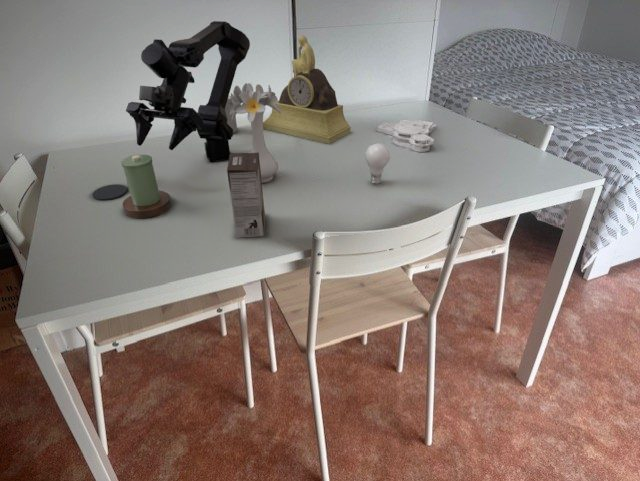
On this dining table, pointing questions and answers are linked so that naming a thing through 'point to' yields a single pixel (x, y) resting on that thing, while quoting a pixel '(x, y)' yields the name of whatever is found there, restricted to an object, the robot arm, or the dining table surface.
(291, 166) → the dining table surface
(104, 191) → the coaster
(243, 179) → the coffee box
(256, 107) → the flower vase
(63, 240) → the dining table surface
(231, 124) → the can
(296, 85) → the decorative clock
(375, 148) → the lightbulb
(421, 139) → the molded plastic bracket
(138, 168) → the canister
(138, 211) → the platform
